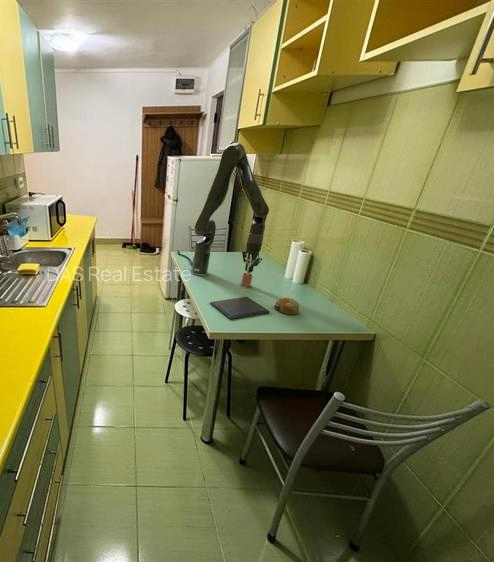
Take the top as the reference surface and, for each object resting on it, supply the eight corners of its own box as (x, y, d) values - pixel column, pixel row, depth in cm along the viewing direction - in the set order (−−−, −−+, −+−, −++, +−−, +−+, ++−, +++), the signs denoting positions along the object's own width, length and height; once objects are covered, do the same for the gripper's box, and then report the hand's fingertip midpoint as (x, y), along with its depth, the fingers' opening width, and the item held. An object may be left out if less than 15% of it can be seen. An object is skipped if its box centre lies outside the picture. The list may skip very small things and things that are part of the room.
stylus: (243, 284, 172) (247, 262, 166) (245, 284, 172) (250, 262, 167) (245, 286, 170) (250, 263, 165) (248, 285, 171) (253, 263, 165)
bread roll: (291, 322, 142) (303, 311, 138) (271, 309, 145) (283, 297, 140) (292, 313, 150) (303, 302, 146) (273, 301, 153) (284, 290, 148)
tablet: (210, 303, 151) (210, 301, 150) (246, 298, 157) (246, 296, 157) (230, 319, 137) (230, 317, 136) (269, 313, 143) (269, 310, 143)
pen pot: (238, 284, 173) (241, 273, 170) (246, 283, 174) (248, 272, 171) (244, 288, 169) (247, 276, 166) (252, 287, 170) (254, 275, 167)
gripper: (270, 244, 156) (262, 275, 163) (251, 237, 168) (245, 266, 175) (258, 245, 154) (251, 276, 161) (240, 238, 166) (234, 267, 173)
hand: (248, 271), depth 168 cm, fingers closed on stylus, 2 cm apart
